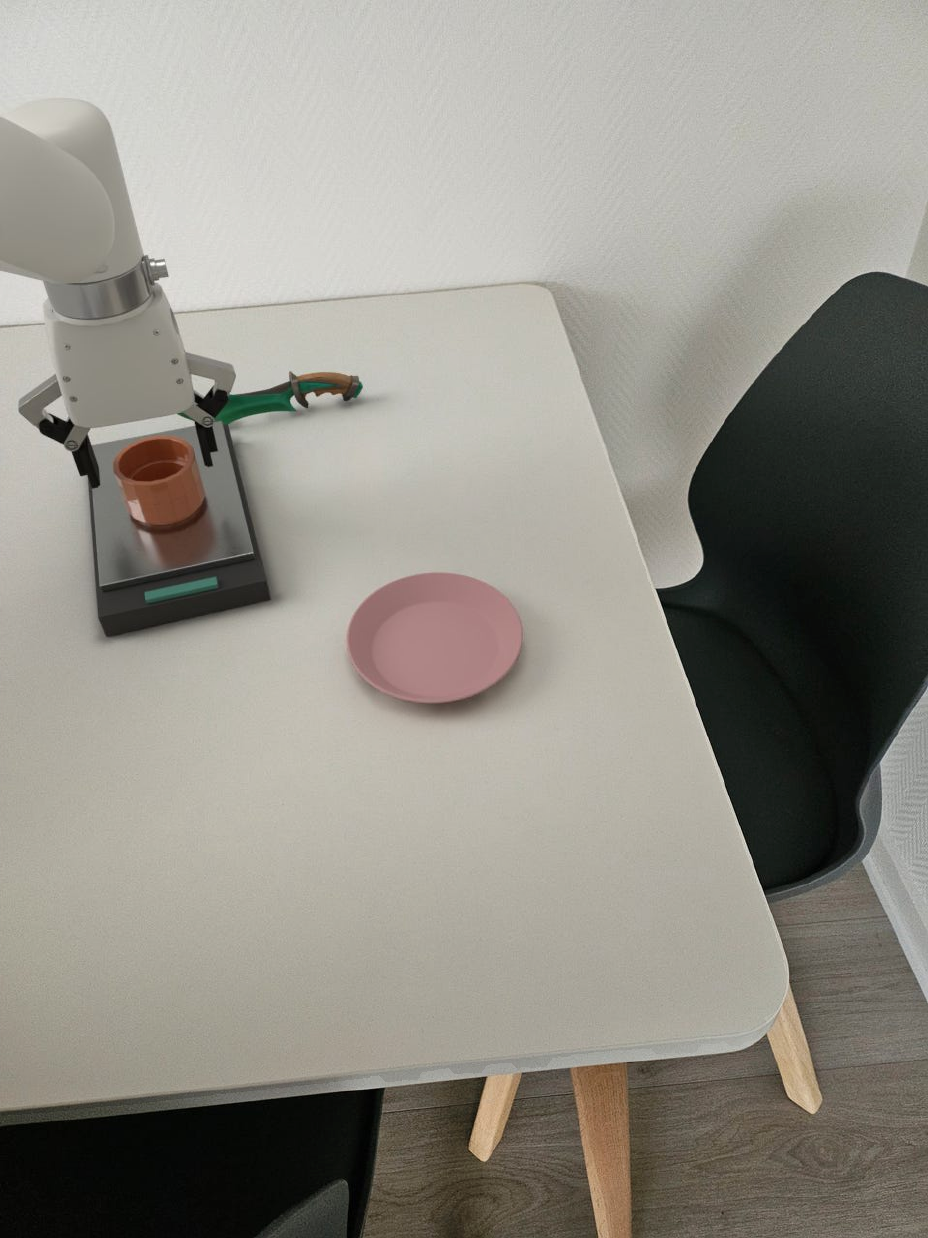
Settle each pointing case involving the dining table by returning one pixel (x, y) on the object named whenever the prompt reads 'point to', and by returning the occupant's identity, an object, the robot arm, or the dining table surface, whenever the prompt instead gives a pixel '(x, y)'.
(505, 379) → the dining table surface
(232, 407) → the knife
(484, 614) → the plate
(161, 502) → the bowl
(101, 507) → the scale
